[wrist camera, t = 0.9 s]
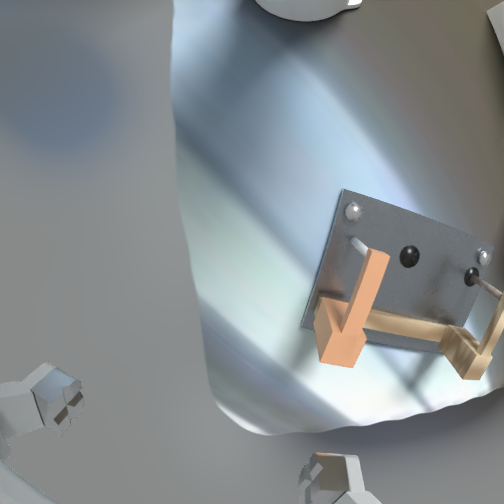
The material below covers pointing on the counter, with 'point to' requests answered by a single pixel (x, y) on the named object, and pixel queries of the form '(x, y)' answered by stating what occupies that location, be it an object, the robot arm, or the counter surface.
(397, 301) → the hole plate
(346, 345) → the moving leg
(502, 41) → the milk
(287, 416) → the counter surface
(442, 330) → the fixed leg
